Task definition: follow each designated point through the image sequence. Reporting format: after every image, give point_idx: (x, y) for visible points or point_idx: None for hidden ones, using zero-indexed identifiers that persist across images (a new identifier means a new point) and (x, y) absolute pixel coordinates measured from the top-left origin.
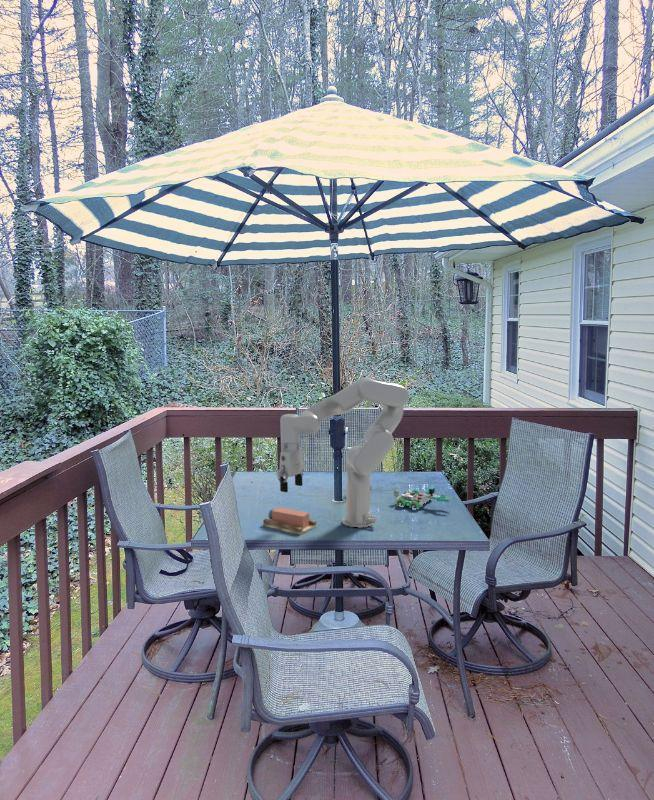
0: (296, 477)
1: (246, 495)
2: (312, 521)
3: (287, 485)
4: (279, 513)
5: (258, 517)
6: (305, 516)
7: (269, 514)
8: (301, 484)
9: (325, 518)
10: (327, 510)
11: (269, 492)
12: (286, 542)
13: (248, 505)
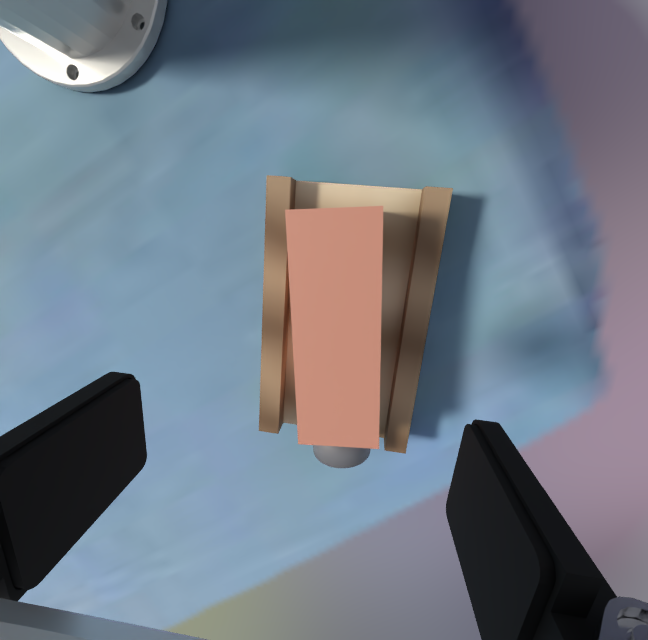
0: (46, 541)
1: None
2: (289, 192)
3: (528, 498)
4: (379, 395)
5: (313, 497)
6: (345, 208)
7: (369, 450)
8: (117, 383)
9: (137, 209)
10: (37, 263)
11: None
12: (588, 203)
13: (212, 587)
